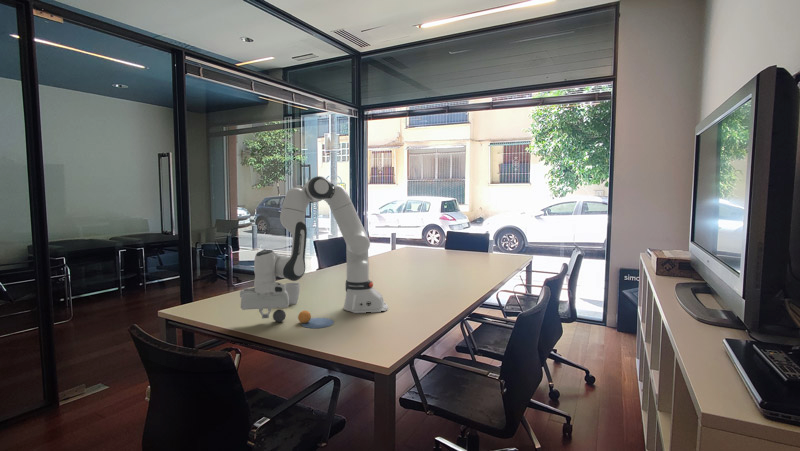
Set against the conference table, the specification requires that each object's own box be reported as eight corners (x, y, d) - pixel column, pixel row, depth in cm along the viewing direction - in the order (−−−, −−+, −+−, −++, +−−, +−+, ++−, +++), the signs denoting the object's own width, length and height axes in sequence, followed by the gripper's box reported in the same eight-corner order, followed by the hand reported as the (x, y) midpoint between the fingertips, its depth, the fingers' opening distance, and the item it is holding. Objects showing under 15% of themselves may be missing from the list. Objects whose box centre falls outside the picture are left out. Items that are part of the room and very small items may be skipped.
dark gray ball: (272, 311, 178) (275, 323, 177) (270, 311, 172) (273, 324, 172) (284, 307, 179) (288, 319, 178) (282, 307, 174) (286, 319, 173)
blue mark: (335, 318, 181) (335, 317, 181) (330, 328, 167) (330, 328, 167) (305, 318, 181) (305, 317, 181) (298, 328, 167) (297, 327, 167)
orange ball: (297, 315, 177) (306, 323, 177) (294, 319, 171) (304, 327, 172) (304, 306, 176) (314, 314, 177) (302, 310, 171) (312, 317, 171)
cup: (303, 302, 208) (302, 283, 208) (294, 306, 201) (294, 286, 200) (289, 300, 211) (289, 282, 210) (280, 304, 203) (280, 285, 203)
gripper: (238, 290, 167) (239, 321, 168) (288, 287, 172) (288, 318, 173) (240, 286, 173) (241, 317, 174) (289, 284, 178) (289, 314, 179)
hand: (265, 318), depth 174 cm, fingers closed
